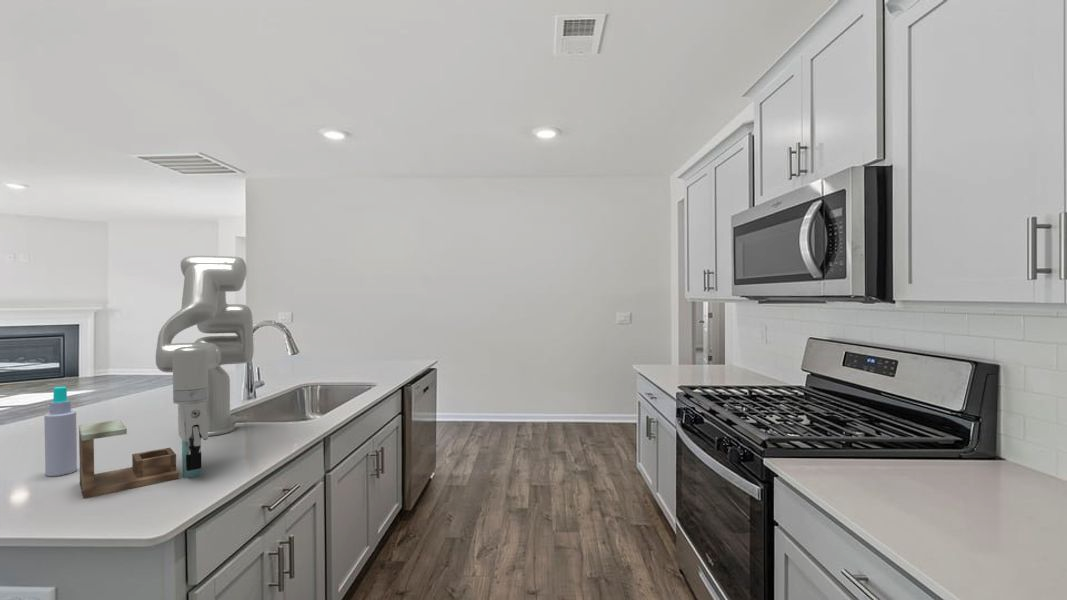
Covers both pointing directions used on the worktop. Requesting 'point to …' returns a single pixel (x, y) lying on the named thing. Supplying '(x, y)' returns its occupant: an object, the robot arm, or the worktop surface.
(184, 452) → the peg
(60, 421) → the spray bottle
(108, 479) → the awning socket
